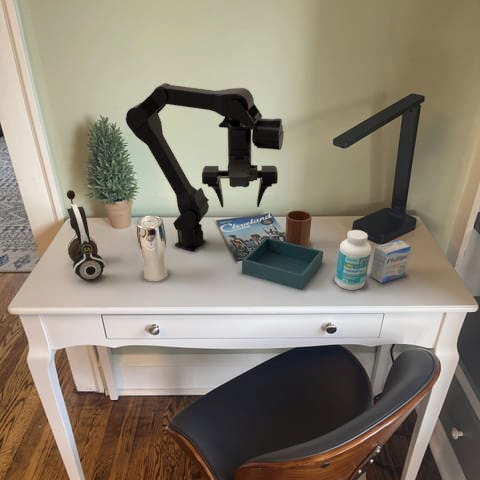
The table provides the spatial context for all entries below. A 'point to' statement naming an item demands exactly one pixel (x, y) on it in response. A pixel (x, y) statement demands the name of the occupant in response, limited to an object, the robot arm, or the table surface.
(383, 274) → the medicine box
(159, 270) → the beer glass
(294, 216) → the cup
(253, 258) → the tray
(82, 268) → the headset
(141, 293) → the table surface
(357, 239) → the pill bottle
